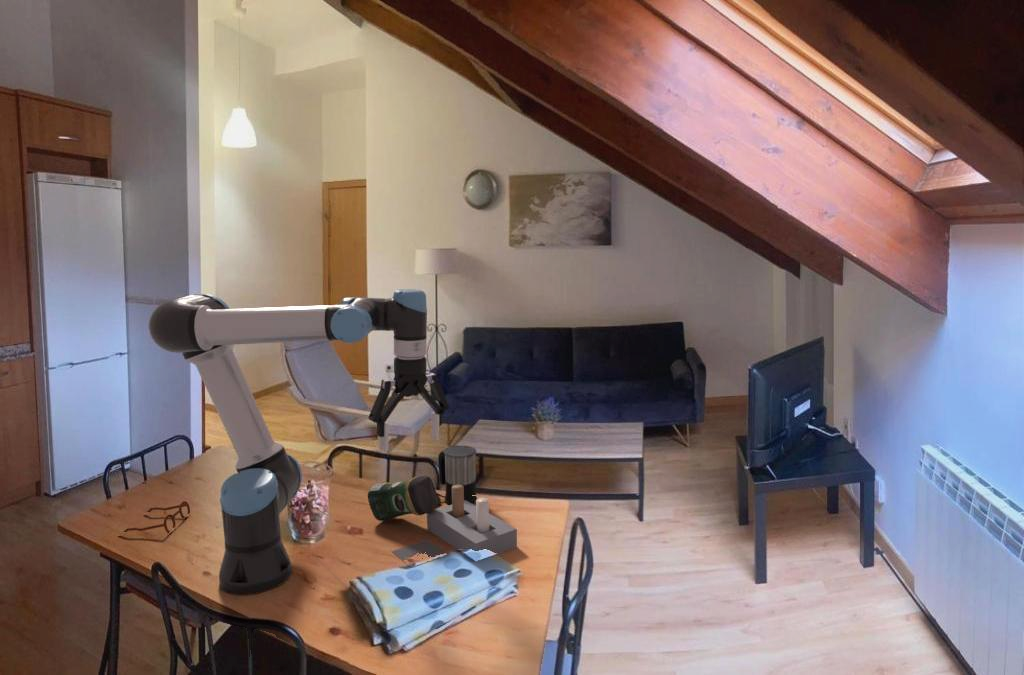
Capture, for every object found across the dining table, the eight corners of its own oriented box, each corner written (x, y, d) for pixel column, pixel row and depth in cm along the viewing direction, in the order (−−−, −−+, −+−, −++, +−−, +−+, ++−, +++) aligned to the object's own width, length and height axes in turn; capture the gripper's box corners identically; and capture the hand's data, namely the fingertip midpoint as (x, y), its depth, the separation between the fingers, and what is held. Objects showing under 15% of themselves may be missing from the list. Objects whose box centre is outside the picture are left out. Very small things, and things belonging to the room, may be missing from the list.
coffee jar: (393, 512, 186) (445, 505, 176) (374, 525, 179) (427, 518, 169) (382, 478, 185) (434, 470, 175) (362, 490, 178) (415, 482, 168)
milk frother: (483, 498, 195) (482, 448, 193) (450, 518, 182) (449, 465, 179) (444, 488, 203) (442, 440, 200) (409, 507, 189) (407, 456, 187)
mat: (411, 569, 155) (411, 567, 155) (391, 553, 163) (391, 551, 163) (448, 556, 161) (448, 554, 161) (427, 540, 169) (427, 539, 169)
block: (476, 563, 158) (475, 514, 156) (427, 530, 175) (425, 486, 173) (516, 548, 165) (516, 501, 163) (466, 517, 182) (465, 475, 180)
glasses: (168, 537, 174) (166, 519, 173) (117, 538, 173) (115, 520, 172) (191, 515, 186) (190, 498, 186) (143, 516, 186) (141, 499, 185)
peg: (482, 551, 164) (480, 504, 162) (475, 546, 166) (473, 500, 164) (492, 547, 165) (491, 500, 163) (485, 543, 168) (483, 496, 166)
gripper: (368, 365, 147) (369, 458, 151) (464, 353, 163) (462, 439, 166) (353, 359, 153) (354, 449, 157) (447, 348, 168) (446, 431, 172)
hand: (410, 444), depth 162 cm, fingers open, 13 cm apart
